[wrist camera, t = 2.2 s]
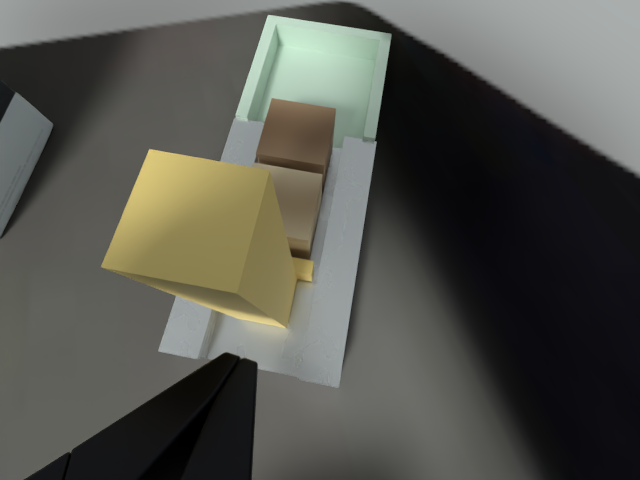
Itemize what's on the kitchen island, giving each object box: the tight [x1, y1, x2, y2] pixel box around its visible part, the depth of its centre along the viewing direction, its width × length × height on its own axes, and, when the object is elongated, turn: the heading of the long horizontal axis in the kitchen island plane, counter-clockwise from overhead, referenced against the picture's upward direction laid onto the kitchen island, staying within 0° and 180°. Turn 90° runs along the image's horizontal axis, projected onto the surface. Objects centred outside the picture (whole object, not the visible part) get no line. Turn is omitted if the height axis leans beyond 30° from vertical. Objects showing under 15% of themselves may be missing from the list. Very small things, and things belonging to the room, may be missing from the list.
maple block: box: [252, 162, 322, 260], centre depth 20 cm, size 4×4×4 cm
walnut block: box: [256, 98, 336, 196], centre depth 21 cm, size 4×4×4 cm
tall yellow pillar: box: [101, 149, 314, 328], centre depth 14 cm, size 4×5×13 cm
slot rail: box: [158, 118, 377, 388], centre depth 21 cm, size 16×10×3 cm, turn 169°
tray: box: [236, 15, 392, 149], centre depth 25 cm, size 10×10×3 cm
